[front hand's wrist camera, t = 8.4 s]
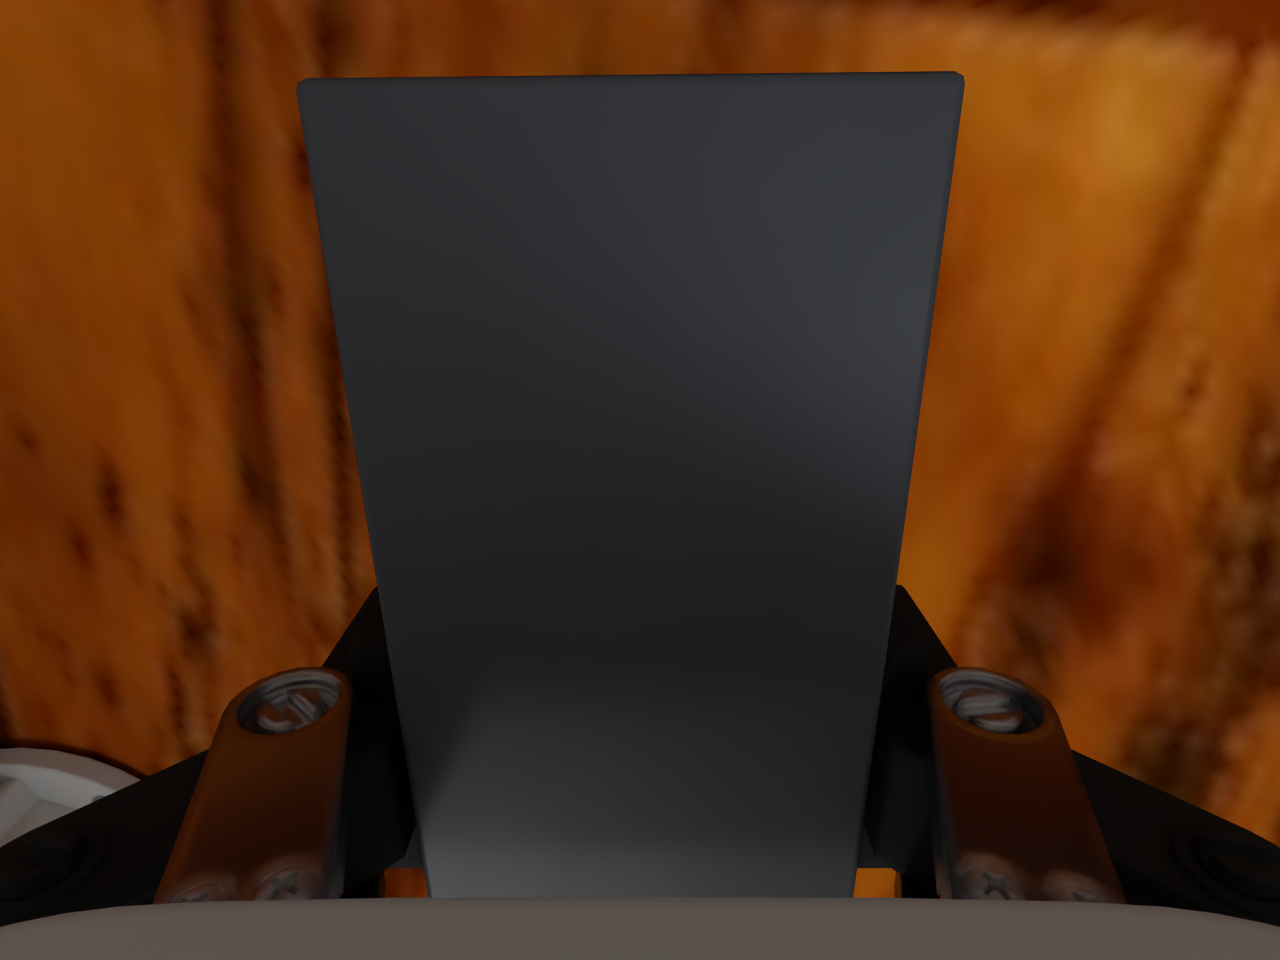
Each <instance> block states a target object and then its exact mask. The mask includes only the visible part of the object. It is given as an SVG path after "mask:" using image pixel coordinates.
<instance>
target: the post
mask: <svg viewBox="0 0 1280 960" xmlns="http://www.w3.org/2000/svg"><path fill="white" fill-rule="evenodd" d="M964 86H965V83H964V76H963V75H961V74H959V73H957V72H955V71H932V72H840V73H748V74H657V75H565V76H473V77H381V78H306V79H304V80H302V81H301V82H299V83H297V91H296V92H297V98H298V104H299V110H300V116H301V122H302V128H303V135H304V141H305V147H306V153H307V159H308V165H309V171H310V177H311V183H312V189H313V196H314V202H315V208H316V214H317V220H318V226H319V232H320V238H321V244H322V251H323V257H324V263H325V269H326V275H327V281H328V287H329V293H330V299H331V305H332V312H333V318H334V324H335V330H336V336H337V342H338V348H339V354H340V360H341V367H342V373H343V379H344V385H345V391H346V397H347V403H348V409H349V415H350V421H351V428H352V434H353V440H354V446H355V452H356V458H357V464H358V470H359V476H360V483H361V489H362V495H363V501H364V507H365V513H366V519H367V525H368V531H369V537H370V544H371V550H372V556H373V562H374V568H375V574H376V580H377V586H378V592H379V599H380V605H381V611H382V617H383V623H384V629H385V635H386V641H387V647H388V653H389V660H390V666H391V672H392V678H393V684H394V690H395V696H396V702H397V708H398V715H399V721H400V727H401V733H402V739H403V745H404V751H405V757H406V763H407V769H408V776H409V782H410V788H411V794H412V800H413V806H414V812H415V818H416V824H417V831H418V837H419V843H420V849H421V855H422V861H423V867H424V873H425V879H426V885H427V892H428V898H492V897H788V898H853V893H854V886H855V879H856V871H857V864H858V857H859V850H860V842H861V835H862V828H863V820H864V813H865V806H866V799H867V791H868V784H869V777H870V770H871V762H872V755H873V748H874V741H875V733H876V726H877V719H878V711H879V704H880V697H881V690H882V682H883V675H884V668H885V661H886V653H887V646H888V639H889V631H890V624H891V617H892V610H893V602H894V595H895V588H896V581H897V573H898V566H899V559H900V552H901V544H902V537H903V530H904V522H905V515H906V508H907V501H908V493H909V486H910V479H911V472H912V464H913V457H914V450H915V442H916V435H917V428H918V421H919V413H920V406H921V399H922V392H923V384H924V377H925V370H926V363H927V355H928V348H929V341H930V333H931V326H932V319H933V312H934V304H935V297H936V290H937V283H938V275H939V268H940V261H941V253H942V246H943V239H944V232H945V224H946V217H947V210H948V203H949V195H950V188H951V181H952V173H953V166H954V159H955V152H956V144H957V137H958V130H959V123H960V115H961V108H962V101H963V94H964Z"/></svg>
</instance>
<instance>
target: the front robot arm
mask: <svg viewBox="0 0 1280 960" xmlns="http://www.w3.org/2000/svg"><path fill="white" fill-rule="evenodd" d="M387 868H424V867H423V861H422V855H421V849H420V843H419V837H418V831H417V824H416V818H415V812H414V806H413V800H412V794H411V788H410V782H409V776H408V769H407V763H406V757H405V751H404V745H403V739H402V733H401V727H400V721H399V715H398V708H397V702H396V696H395V690H394V684H393V678H392V672H391V666H390V660H389V653H388V647H387V641H386V635H385V629H384V623H383V617H382V611H381V605H380V599H379V592H378V586H376V587H375V588H374V589H373V591H372V592H371V594H370V595H369V597H368V598H367V600H366V601H365V603H364V604H363V606H362V607H361V609H360V610H359V612H358V613H357V615H356V616H355V618H354V619H353V621H352V622H351V624H350V625H349V627H348V628H347V630H346V631H345V633H344V634H343V636H342V637H341V639H340V640H339V641H338V643H337V644H336V646H335V647H334V649H333V650H332V652H331V653H330V655H329V656H328V658H327V659H326V661H325V662H324V664H323V665H322V667H302V668H294V669H290V670H286V671H282V672H278V673H275V674H273V675H270V676H268V677H265V678H263V679H260V680H258V681H257V682H255V683H253V684H252V685H250V686H248V687H247V688H245V689H243V690H242V691H241V692H240V693H239V694H238V695H236V696H235V697H234V698H233V699H232V700H231V701H230V702H229V704H228V706H227V707H226V709H225V710H224V712H223V714H222V717H221V719H220V722H219V725H218V727H217V730H216V733H215V736H214V738H213V741H212V744H211V746H210V749H208V750H206V751H204V752H201V753H199V754H197V755H195V756H193V757H190V758H188V759H186V760H184V761H182V762H179V763H177V764H175V765H173V766H171V767H169V768H166V769H164V770H162V771H160V772H158V773H155V774H153V775H151V776H149V777H147V778H144V779H142V780H140V779H138V778H136V777H135V776H133V775H131V774H129V773H127V772H125V771H123V770H121V769H119V768H116V767H113V766H110V765H108V764H105V763H102V762H99V761H97V760H94V759H91V758H88V757H84V756H79V755H75V754H70V753H66V752H61V751H57V750H45V749H33V748H9V749H0V960H1280V848H1279V847H1278V846H1276V845H1275V844H1273V843H1271V842H1269V841H1267V840H1266V839H1264V838H1262V837H1260V836H1258V835H1256V834H1254V833H1253V832H1251V831H1249V830H1247V829H1244V828H1242V827H1240V826H1238V825H1236V824H1233V823H1231V822H1229V821H1227V820H1225V819H1222V818H1220V817H1218V816H1216V815H1214V814H1212V813H1209V812H1207V811H1205V810H1203V809H1201V808H1198V807H1196V806H1194V805H1192V804H1190V803H1187V802H1185V801H1183V800H1181V799H1179V798H1176V797H1174V796H1172V795H1170V794H1168V793H1166V792H1163V791H1161V790H1159V789H1157V788H1155V787H1152V786H1150V785H1148V784H1146V783H1144V782H1141V781H1139V780H1137V779H1135V778H1133V777H1131V776H1128V775H1126V774H1124V773H1122V772H1120V771H1117V770H1115V769H1113V768H1111V767H1109V766H1106V765H1104V764H1102V763H1100V762H1098V761H1095V760H1093V759H1091V758H1089V757H1087V756H1085V755H1082V754H1080V753H1078V752H1076V751H1074V750H1071V749H1070V746H1069V744H1068V741H1067V738H1066V736H1065V733H1064V730H1063V727H1062V725H1061V722H1060V719H1059V717H1058V714H1057V712H1056V710H1055V709H1054V707H1053V706H1052V704H1051V702H1050V701H1049V700H1048V699H1047V698H1046V697H1045V696H1044V695H1042V694H1041V693H1040V692H1039V691H1038V690H1037V689H1035V688H1033V687H1032V686H1030V685H1028V684H1027V683H1025V682H1023V681H1022V680H1020V679H1017V678H1015V677H1012V676H1010V675H1007V674H1005V673H1002V672H998V671H994V670H990V669H986V668H978V667H957V665H956V664H955V662H954V661H953V659H952V658H951V656H950V655H949V653H948V652H947V650H946V649H945V647H944V646H943V644H942V643H941V641H940V640H939V638H938V637H937V635H936V634H935V632H934V631H933V629H932V628H931V626H930V625H929V623H928V622H927V621H926V619H925V618H924V616H923V615H922V613H921V612H920V610H919V609H918V607H917V606H916V604H915V603H914V601H913V600H912V598H911V597H910V595H909V594H908V592H907V591H906V589H905V588H904V587H903V586H902V585H896V588H895V595H894V602H893V610H892V617H891V624H890V631H889V639H888V646H887V653H886V661H885V668H884V675H883V682H882V690H881V697H880V704H879V711H878V719H877V726H876V733H875V741H874V748H873V755H872V762H871V770H870V777H869V784H868V791H867V799H866V806H865V813H864V820H863V828H862V835H861V842H860V850H859V857H858V864H857V868H892V869H894V870H895V871H896V877H895V883H894V889H895V898H788V897H492V898H385V889H386V883H385V877H384V870H385V869H387Z"/></svg>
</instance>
